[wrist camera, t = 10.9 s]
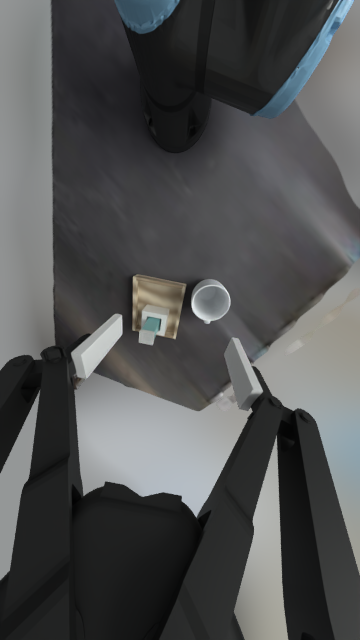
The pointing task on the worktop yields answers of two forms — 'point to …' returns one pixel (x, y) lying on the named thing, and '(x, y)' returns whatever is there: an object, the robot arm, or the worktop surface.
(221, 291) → the mug
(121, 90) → the worktop surface
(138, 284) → the wooden tray
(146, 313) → the inlet
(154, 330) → the plug
